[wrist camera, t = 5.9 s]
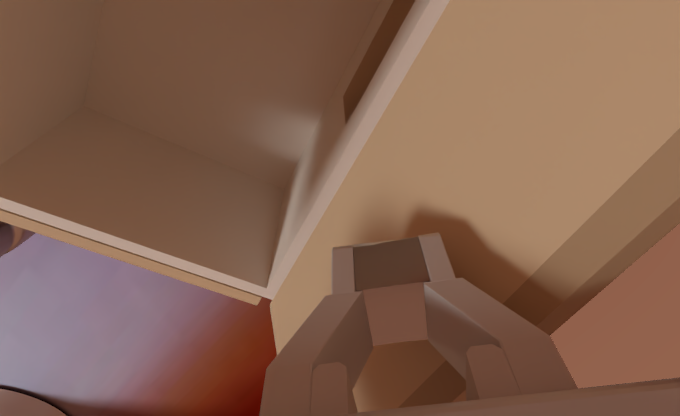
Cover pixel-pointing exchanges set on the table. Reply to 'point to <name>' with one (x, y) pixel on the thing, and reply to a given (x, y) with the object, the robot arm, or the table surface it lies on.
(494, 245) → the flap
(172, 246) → the carton
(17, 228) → the plastic bottle
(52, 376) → the table surface
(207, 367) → the table surface
